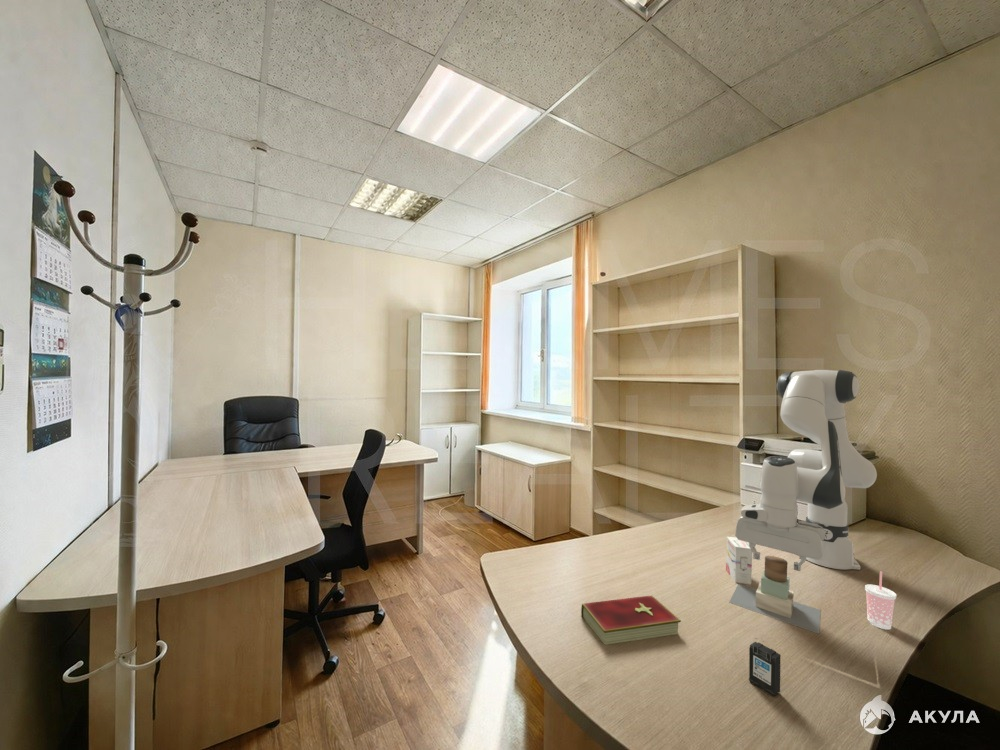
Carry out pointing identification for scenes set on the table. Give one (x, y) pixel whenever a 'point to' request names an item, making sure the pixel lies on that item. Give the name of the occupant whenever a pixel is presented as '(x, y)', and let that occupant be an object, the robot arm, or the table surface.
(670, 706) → the table surface
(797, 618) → the mat
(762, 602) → the base slab
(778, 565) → the brown rounded piece
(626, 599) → the hardcover book
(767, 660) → the ink cartridge
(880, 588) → the beverage cup
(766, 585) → the mint green block
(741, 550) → the ink cartridge box
